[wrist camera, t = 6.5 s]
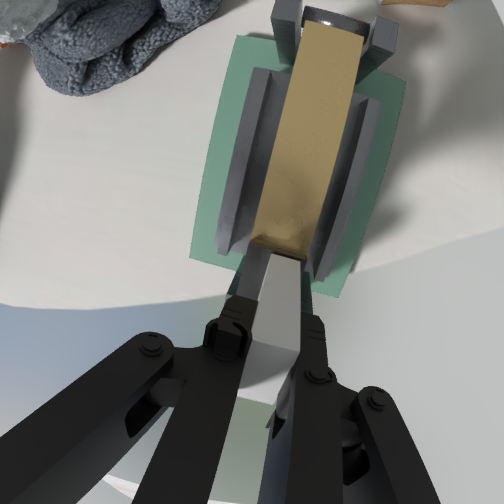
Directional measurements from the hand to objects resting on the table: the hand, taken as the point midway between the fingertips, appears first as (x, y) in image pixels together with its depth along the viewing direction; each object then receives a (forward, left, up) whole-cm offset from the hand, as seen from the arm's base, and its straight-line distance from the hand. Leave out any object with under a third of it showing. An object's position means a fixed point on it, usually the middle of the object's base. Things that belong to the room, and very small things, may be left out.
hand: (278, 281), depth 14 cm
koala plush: (+1, +26, -11) cm, 29 cm away
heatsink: (+4, +3, -11) cm, 12 cm away
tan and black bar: (+3, +3, -2) cm, 5 cm away
